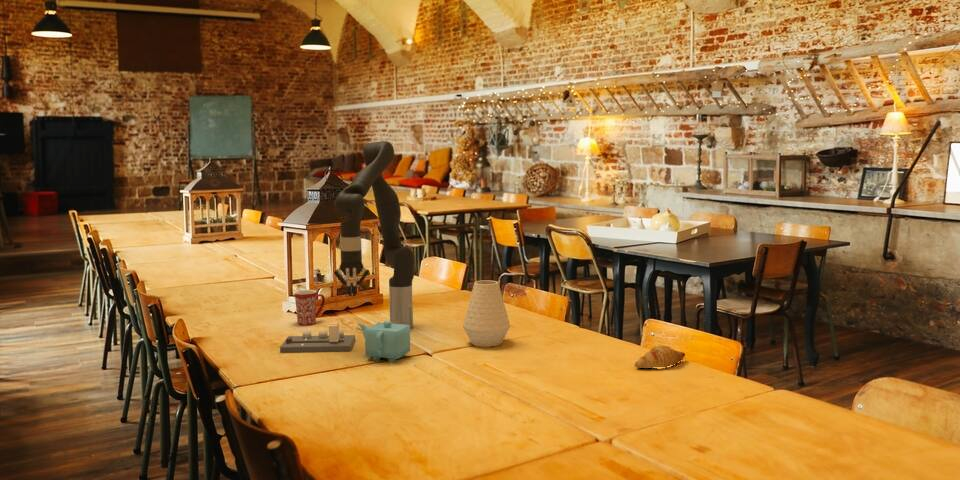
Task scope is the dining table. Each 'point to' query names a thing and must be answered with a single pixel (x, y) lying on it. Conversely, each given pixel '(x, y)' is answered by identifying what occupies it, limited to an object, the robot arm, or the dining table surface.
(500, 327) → the vase
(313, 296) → the mug
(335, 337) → the block
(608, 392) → the dining table surface
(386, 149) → the robot arm
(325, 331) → the console
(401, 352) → the teapot
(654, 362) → the croissant
